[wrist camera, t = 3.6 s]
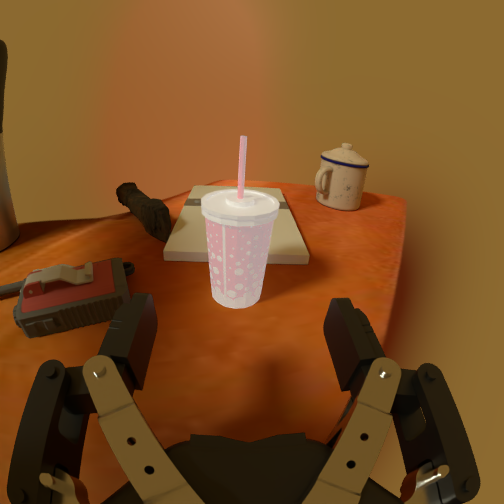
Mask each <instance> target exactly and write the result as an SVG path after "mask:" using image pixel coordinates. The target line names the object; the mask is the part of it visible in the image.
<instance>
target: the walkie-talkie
mask: <svg viewBox="0 0 504 504" xmlns="http://www.w3.org/2000/svg"><path fill="white" fill-rule="evenodd" d="M134 270H135V268H134V264H133V263H131V262H124V263H122V258H112V259H108V260H104V261H99V262H95V263H92V262H90V261H89V262H87V263H85V265H81V266H77V267H74V266H70V265H65V264H61V265H56V266H52V267H48V268H44V269H40V270H39V269H37V270H33V272H31V273H29V274H28V276H27V278H26V279H24V281H20V282H16V283H12V284H8V285H4V286H0V296H2V295H6V294H10V293H14V292H18V291H20V296H19V300H18V304H17V305H16V306H15V307H14V309H13V316H14V320H15V322H16V324H17V326H18V327H20V328H22V330H23V331H24V333H25V335H26V336H27V337H28V338H34V337H39V336H44V335H48V334H53V333H58V332H62V331H67V330H69V329H74V328H79V327H81V326H82V327H84V326H86V325H88V326H89V325H90V324H93V325H94V324H95V323H101V322H103V321H104V322H106V321H107V320H110V321H111V320H112V319H113V317H114V314H115V312H116V310H117V309H118V308H119V307H120V306H121V305H122V304H123V303H127V304H130V301H131V298H130V294H129V290H128V285H127V281H126V276H128V275H131V274H133V273H134Z"/></svg>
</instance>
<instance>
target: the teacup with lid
mask: <svg viewBox="0 0 504 504" xmlns="http://www.w3.org/2000/svg"><path fill="white" fill-rule="evenodd" d="M321 158H322V162H321V168H320V170H319V171H318V172H317V174H316V178H315V186H316V189H317V195H316V199H317V200H318V201H319V202H320V203H321V204H323V205H325V206H327V207H330V208H333V209H337V210H343V211H353V210H357V209H358V208H359V206H360V202H361V197H362V193H363V187H364V183H365V177H366V171H367V168H368V167H369V165H368V161H367V160H365V159H364V158H362V157H361V156H360V155H359V154H358V153H357V152H355V151H353V150H352V145H351V144H347V143H343V144H342V148H335V149H334V150H331V151H325V152H323V153H322V155H321Z"/></svg>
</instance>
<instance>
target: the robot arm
mask: <svg viewBox="0 0 504 504" xmlns="http://www.w3.org/2000/svg"><path fill="white" fill-rule="evenodd" d="M7 59H8V56H7V47H6V44H5V43H4V42H3V41H2V40H0V251H1V250H3V249H5V248H6V247H8V246H9V245H11V244H12V243H13V242H14V241H15V240H16V239H17V238H18V236H19V234H20V231H19V227H18V224H17V220H16V216H15V212H14V208H13V203H12V198H11V193H10V188H9V182H8V176H7V170H6V162H5V155H4V145H3V133H2V132H3V130H2V121H3V109H4V106H3V105H4V89H5V80H6V71H7ZM323 330H324V336H325V339H326V342H327V345H328V348H329V352H330V355H331V358H332V361H333V365H334V368H335V371H336V375H337V378H338V381H339V385H340V388H341V392H342V391H349V390H350V392H351V397H350V398H349V400H348V402H347V404H346V406H345V408H344V410H343V412H342V414H341V416H340V418H339V420H338V422H337V424H336V425H335V427H334V429H333V431H332V432H331V434H330V435H329V437H328V438H327V440H326V441H325V443H324V444H323V443H321V442H318V441H315V440H311V439H306V436H305V433H295V434H283V435H276V436H272V437H269V438H265V439H262V440H258V441H254V442H243V441H238V440H234V439H230V438H226V437H222V436H211V435H195V434H191V437H190V440H189V441H184V442H180V443H177V444H174V445H172V446H170V447H168V448H167V449H164V447H163V446H162V444H161V443H160V442H159V440H158V439H157V437H156V436H155V434H154V433H153V431H152V429H151V428H150V426H149V425H148V423H147V421H146V420H145V418H144V416H143V415H142V413H141V411H140V410H139V408H138V406H137V404H136V403H135V401H134V399H133V393H134V389H136V390H143V385H144V381H145V376H146V372H147V368H148V364H149V360H150V356H151V352H152V348H153V344H154V340H155V336H156V332H157V316H156V312H155V307H154V302H153V297H152V295H151V294H147V293H134V294H133V297H132V299H131V301H130V304H127V303H123V304H122V305H121V306H120V307H119V308H118V309H117V310H116V312H115V314H114V317H113V319H112V321H111V323H110V326H109V328H108V330H107V333H106V335H105V338H104V340H103V342H102V345H101V347H100V350H99V352H98V355H97V356H94V357H92V358H90V359H89V360H87V361H86V363H85V364H84V366H79V367H68V368H65V367H64V365H63V364H62V363H61V362H60V361H58V360H48V361H46V362H44V363H43V364H42V365H41V366H40V368H39V370H38V372H37V375H36V377H35V380H34V383H33V385H32V388H31V391H30V394H29V397H28V400H27V403H26V406H25V409H24V412H23V415H22V419H21V422H20V425H19V429H18V433H17V437H16V441H15V445H14V449H13V454H12V459H11V464H10V470H9V476H8V483H7V495H8V498H9V500H10V502H11V504H90V502H89V499H88V492H87V489H86V487H85V485H84V484H83V483H82V482H81V481H80V480H79V474H80V466H81V459H82V452H83V446H84V440H85V435H86V429H87V424H88V420H89V415H90V413H98V414H99V417H98V421H99V424H100V426H101V428H102V430H103V433H104V435H105V437H106V439H107V441H108V443H109V445H110V447H111V449H112V451H113V452H114V454H115V456H116V458H117V460H118V462H119V463H120V465H121V467H122V469H123V470H124V472H125V474H126V475H127V477H128V479H129V481H128V482H127V483H126V484H125V485H123V486H122V487H121V488H120V489H119V490H117V491H116V492H115V493H114V494H112V495H111V496H110V497H109V498H107V499H106V500H105V501H104V502H102V503H101V504H463V503H465V502H468V501H470V500H472V499H473V498H474V497H475V496H476V495H477V493H478V491H479V488H480V477H479V473H478V469H477V465H476V462H475V458H474V455H473V452H472V449H471V445H470V443H469V440H468V437H467V433H466V431H465V428H464V425H463V422H462V420H461V417H460V415H459V412H458V409H457V407H456V404H455V402H454V400H453V397H452V395H451V392H450V390H449V388H448V385H447V383H446V381H445V379H444V376H443V374H442V372H441V371H440V369H439V368H438V367H437V366H435V365H433V364H430V363H425V364H422V365H421V366H420V367H419V368H418V370H417V371H416V370H408V369H401V368H400V367H399V365H398V364H397V363H396V362H395V361H393V360H392V359H389V358H386V356H385V354H384V352H383V350H382V348H381V345H380V343H379V341H378V339H377V337H376V335H375V333H374V331H373V329H372V326H370V322H369V320H368V318H367V316H366V315H365V314H364V313H363V312H362V311H361V310H360V309H359V308H356V309H354V307H353V305H352V303H351V300H350V299H349V298H333V299H332V300H331V302H330V305H329V309H328V312H327V315H326V318H325V321H324V327H323ZM420 407H421V408H420ZM421 409H422V410H421ZM422 412H423V413H422ZM390 413H391V414H390ZM423 415H424V416H423ZM424 417H425V419H424ZM392 418H393V421H394V425H395V428H396V432H397V435H398V439H399V444H400V448H401V452H402V456H403V460H404V464H405V469H406V473H407V475H406V477H405V478H404V480H403V482H402V486H401V488H400V492H401V497H400V498H398V497H397V496H395V495H394V494H392V493H390V492H389V491H388V490H386V489H384V488H383V487H382V486H381V485H379V484H378V483H376V482H375V481H374V480H372V479H371V478H370V477H369V475H370V473H371V471H372V469H373V466H374V464H375V462H376V460H377V458H378V455H379V453H380V450H381V448H382V445H383V443H384V441H385V438H386V435H387V433H388V430H389V427H390V424H391V422H392ZM425 420H426V422H425Z"/></svg>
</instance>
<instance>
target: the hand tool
mask: <svg viewBox="0 0 504 504" xmlns="http://www.w3.org/2000/svg"><path fill="white" fill-rule="evenodd" d="M116 194H117V197H118V201H119V202H120V203H122V205H123V206H124V205H125V206H126V207H128V208H129V209H130V211H131V213H133V214H134V215H135V216H136V217H137V218H138V219H139V220H140V221H141V222H142V223H143V225H144V227H145V231H146V232H147V233H149V234H150V235H152V236H153V237H155V238H157V239H159V240H161V241H164V242H167V241H168V239H169V237H170V235H171V233H170V230H171V220H170V215H169V209H168V207H167V206H166V205H165V204H164V203H163V202H162V201H161V200H159V199H150V198H149V197H147V196H146V195H145V194H144V193H142V192H141V191H140V190H139V189H137V186H136V184H135V183H123V184H122V185H120V186H119V187H118V188H117V189H116Z"/></svg>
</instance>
